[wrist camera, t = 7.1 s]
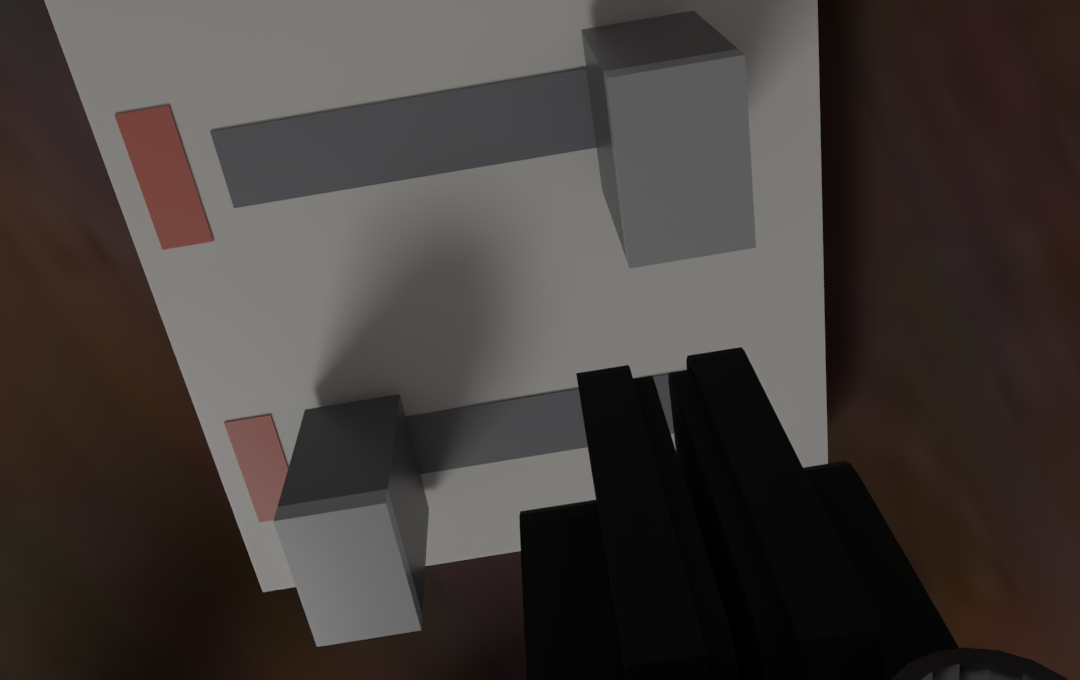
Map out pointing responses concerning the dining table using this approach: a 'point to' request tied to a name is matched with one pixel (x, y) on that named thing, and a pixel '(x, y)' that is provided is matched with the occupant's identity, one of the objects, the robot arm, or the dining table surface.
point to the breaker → (355, 521)
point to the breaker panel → (434, 233)
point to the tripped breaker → (672, 137)
